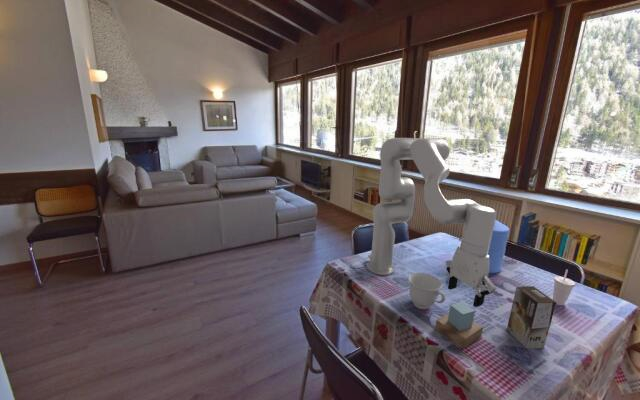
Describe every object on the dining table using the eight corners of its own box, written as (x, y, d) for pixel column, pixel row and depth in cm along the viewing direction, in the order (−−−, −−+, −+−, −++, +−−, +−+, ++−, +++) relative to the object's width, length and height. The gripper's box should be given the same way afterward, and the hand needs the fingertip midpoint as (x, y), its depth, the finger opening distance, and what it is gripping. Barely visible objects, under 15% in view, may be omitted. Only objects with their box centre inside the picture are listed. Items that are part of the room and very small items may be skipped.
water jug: (501, 264, 143) (513, 210, 136) (500, 277, 131) (513, 218, 123) (466, 255, 151) (476, 204, 144) (462, 267, 138) (472, 211, 131)
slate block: (447, 320, 95) (450, 304, 93) (459, 317, 97) (462, 301, 95) (459, 330, 90) (462, 314, 89) (471, 327, 92) (475, 310, 91)
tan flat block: (434, 330, 96) (436, 319, 95) (452, 319, 102) (453, 310, 101) (463, 349, 88) (465, 338, 87) (480, 337, 94) (483, 326, 93)
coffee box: (545, 348, 89) (558, 303, 85) (526, 349, 89) (538, 303, 85) (522, 328, 98) (533, 285, 94) (505, 328, 98) (515, 286, 93)
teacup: (428, 323, 98) (432, 297, 96) (398, 299, 111) (400, 276, 109) (452, 314, 104) (457, 289, 101) (421, 292, 117) (424, 270, 114)
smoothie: (564, 300, 115) (574, 268, 112) (572, 309, 110) (582, 276, 106) (545, 296, 117) (554, 264, 114) (551, 305, 112) (561, 272, 108)
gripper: (442, 237, 93) (434, 284, 98) (492, 262, 78) (479, 316, 83) (459, 234, 96) (451, 280, 101) (510, 257, 81) (497, 310, 85)
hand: (464, 296), depth 92 cm, fingers open, 9 cm apart
